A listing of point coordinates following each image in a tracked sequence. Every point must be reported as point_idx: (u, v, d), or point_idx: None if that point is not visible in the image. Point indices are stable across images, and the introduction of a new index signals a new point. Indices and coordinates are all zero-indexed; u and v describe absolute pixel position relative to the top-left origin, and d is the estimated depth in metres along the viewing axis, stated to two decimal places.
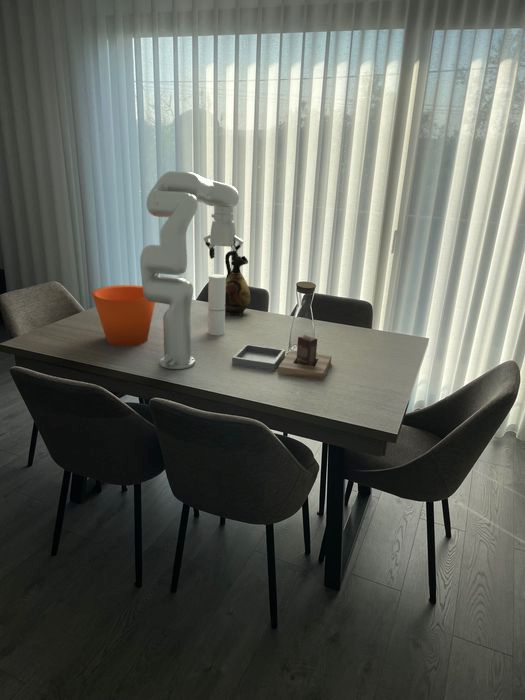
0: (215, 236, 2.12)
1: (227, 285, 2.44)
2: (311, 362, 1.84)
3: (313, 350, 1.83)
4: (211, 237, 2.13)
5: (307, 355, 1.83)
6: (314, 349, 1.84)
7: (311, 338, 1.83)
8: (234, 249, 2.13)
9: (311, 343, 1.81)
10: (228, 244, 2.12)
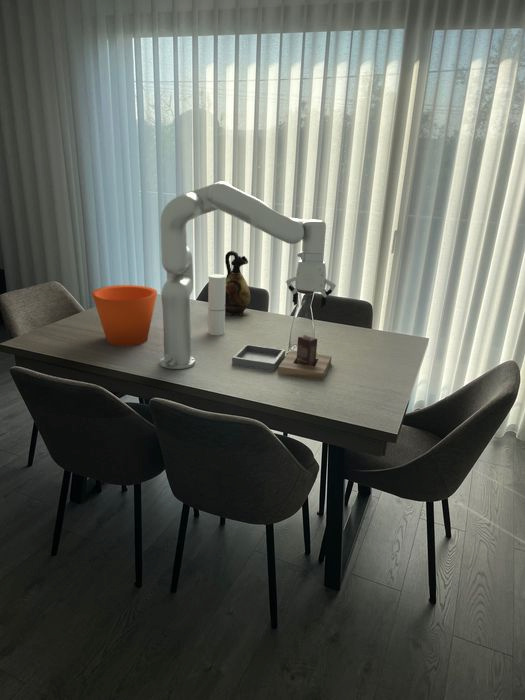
0: (302, 279, 1.75)
1: (227, 285, 2.44)
2: (311, 362, 1.84)
3: (313, 350, 1.83)
4: (297, 280, 1.76)
5: (307, 355, 1.83)
6: (314, 349, 1.84)
7: (311, 338, 1.83)
8: (324, 295, 1.76)
9: (311, 343, 1.81)
10: (318, 290, 1.75)
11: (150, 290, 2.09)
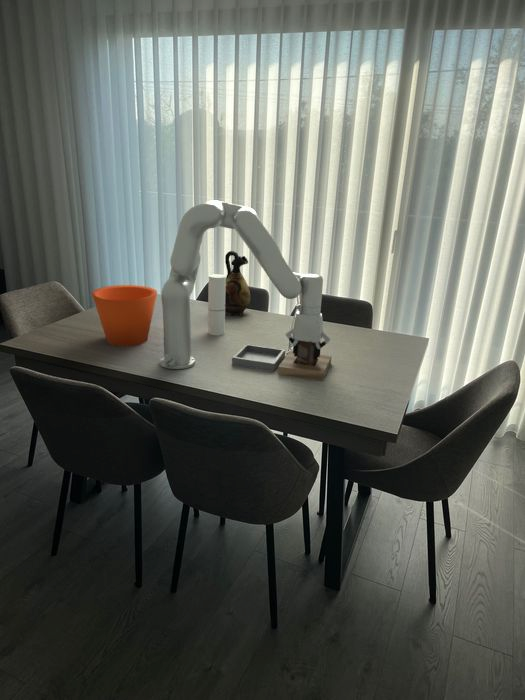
0: (299, 331, 1.81)
1: (227, 285, 2.44)
2: (311, 362, 1.84)
3: (313, 350, 1.83)
4: (294, 331, 1.82)
5: (307, 355, 1.83)
6: (314, 349, 1.84)
7: None
8: (318, 347, 1.82)
9: (311, 343, 1.81)
10: (315, 341, 1.80)
11: (150, 290, 2.09)
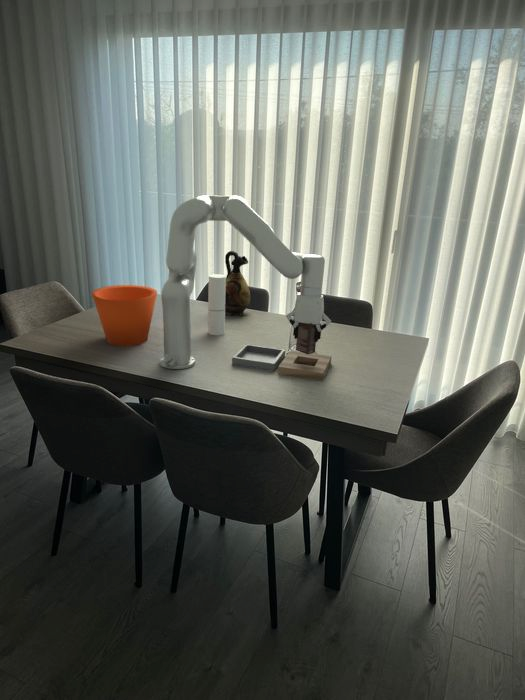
0: (300, 312, 1.79)
1: (227, 285, 2.44)
2: (311, 344, 1.82)
3: (313, 332, 1.81)
4: (295, 313, 1.79)
5: (307, 337, 1.81)
6: (314, 331, 1.81)
7: None
8: (319, 329, 1.80)
9: (312, 325, 1.79)
10: (316, 323, 1.78)
11: (150, 290, 2.09)
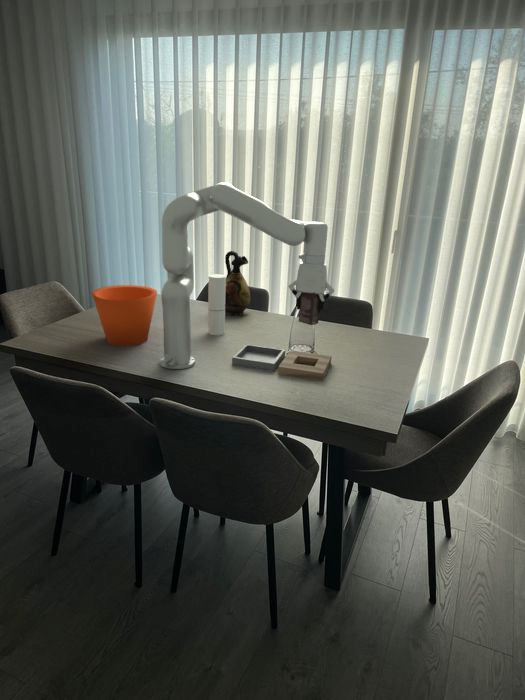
0: (303, 281, 1.75)
1: (227, 285, 2.44)
2: (314, 314, 1.78)
3: (316, 302, 1.77)
4: (298, 282, 1.76)
5: (310, 307, 1.77)
6: (317, 301, 1.78)
7: None
8: (322, 299, 1.76)
9: (315, 294, 1.75)
10: (319, 292, 1.74)
11: (150, 290, 2.09)
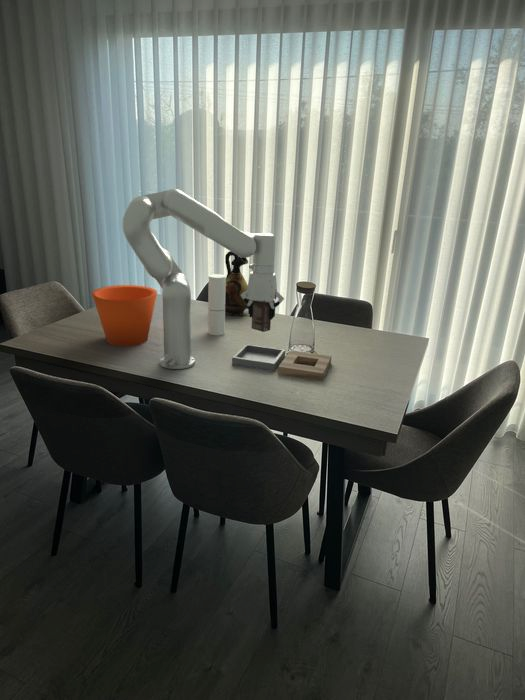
0: (253, 290, 1.82)
1: (227, 285, 2.44)
2: (266, 322, 1.86)
3: (267, 310, 1.85)
4: (248, 291, 1.83)
5: (261, 315, 1.84)
6: (268, 309, 1.85)
7: None
8: (272, 307, 1.84)
9: (265, 302, 1.83)
10: (269, 300, 1.82)
11: (150, 290, 2.09)
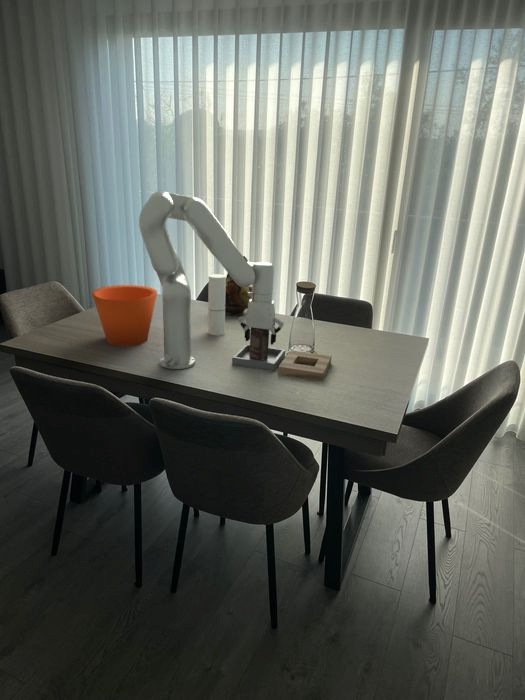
0: (252, 318, 1.86)
1: (227, 285, 2.44)
2: (263, 352, 1.90)
3: (265, 341, 1.89)
4: (247, 318, 1.86)
5: (259, 345, 1.88)
6: (266, 339, 1.89)
7: (263, 329, 1.89)
8: (273, 332, 1.87)
9: (263, 333, 1.87)
10: (267, 328, 1.85)
11: (150, 290, 2.09)
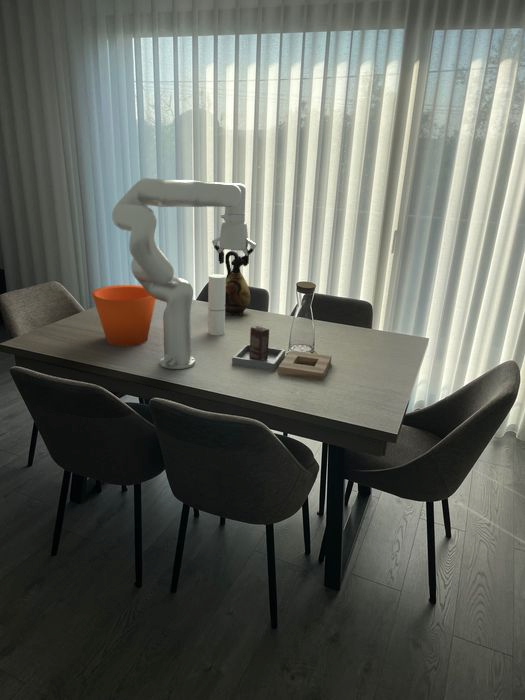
0: (225, 239, 1.90)
1: (227, 285, 2.44)
2: (263, 352, 1.90)
3: (265, 341, 1.89)
4: (220, 240, 1.91)
5: (259, 345, 1.88)
6: (266, 339, 1.89)
7: (263, 329, 1.89)
8: (246, 253, 1.92)
9: (263, 333, 1.87)
10: (240, 248, 1.90)
11: None
